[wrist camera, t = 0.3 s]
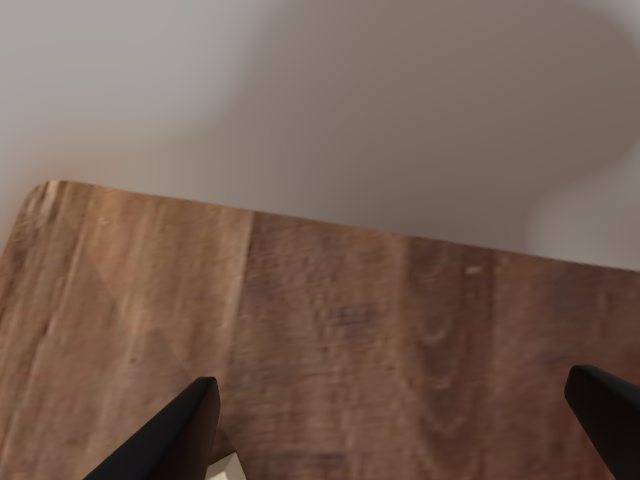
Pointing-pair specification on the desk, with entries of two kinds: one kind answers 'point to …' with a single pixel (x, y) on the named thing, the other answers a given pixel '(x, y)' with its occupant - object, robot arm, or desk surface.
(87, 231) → the desk surface
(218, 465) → the button base
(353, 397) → the desk surface
